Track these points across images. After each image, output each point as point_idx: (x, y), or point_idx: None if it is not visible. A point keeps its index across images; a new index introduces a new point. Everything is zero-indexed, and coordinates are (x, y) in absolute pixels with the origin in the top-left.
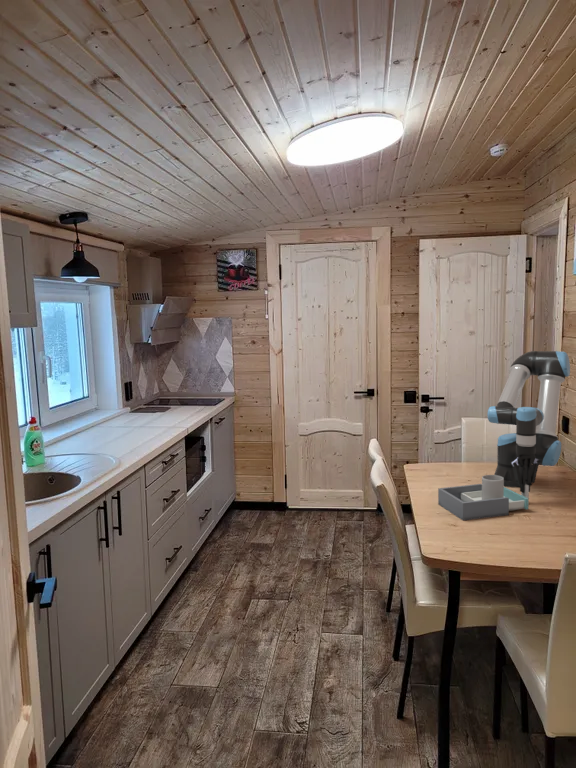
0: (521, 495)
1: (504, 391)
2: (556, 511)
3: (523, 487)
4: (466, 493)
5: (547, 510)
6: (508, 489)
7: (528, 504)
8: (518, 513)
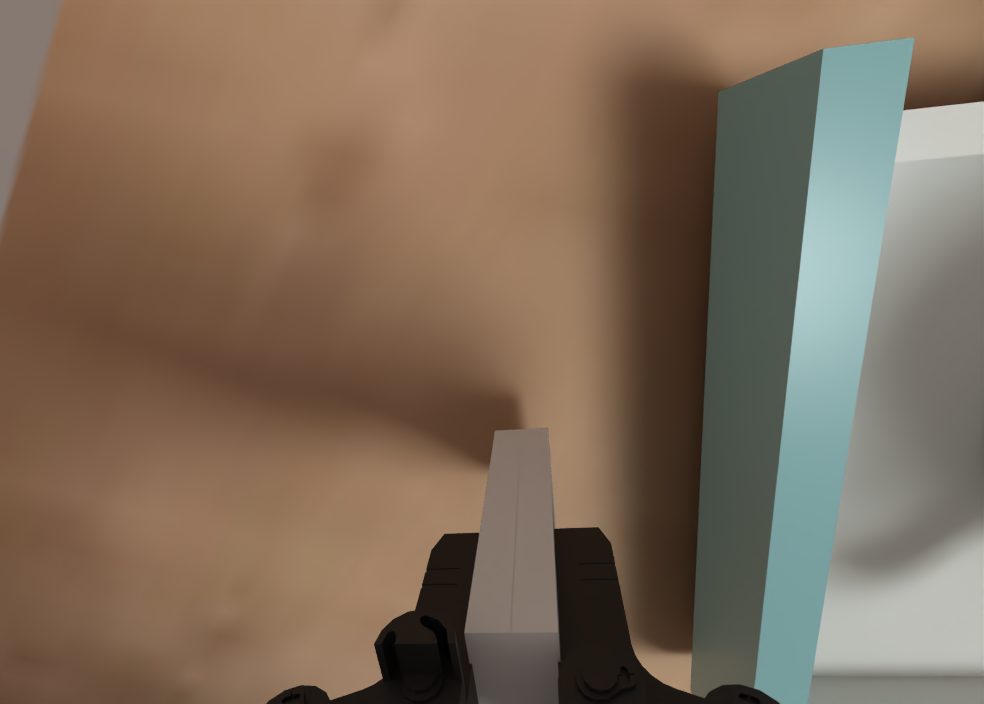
0: (801, 336)
1: None
2: (260, 27)
3: (587, 612)
4: None
5: (373, 105)
6: (770, 688)
7: (754, 77)
8: None
